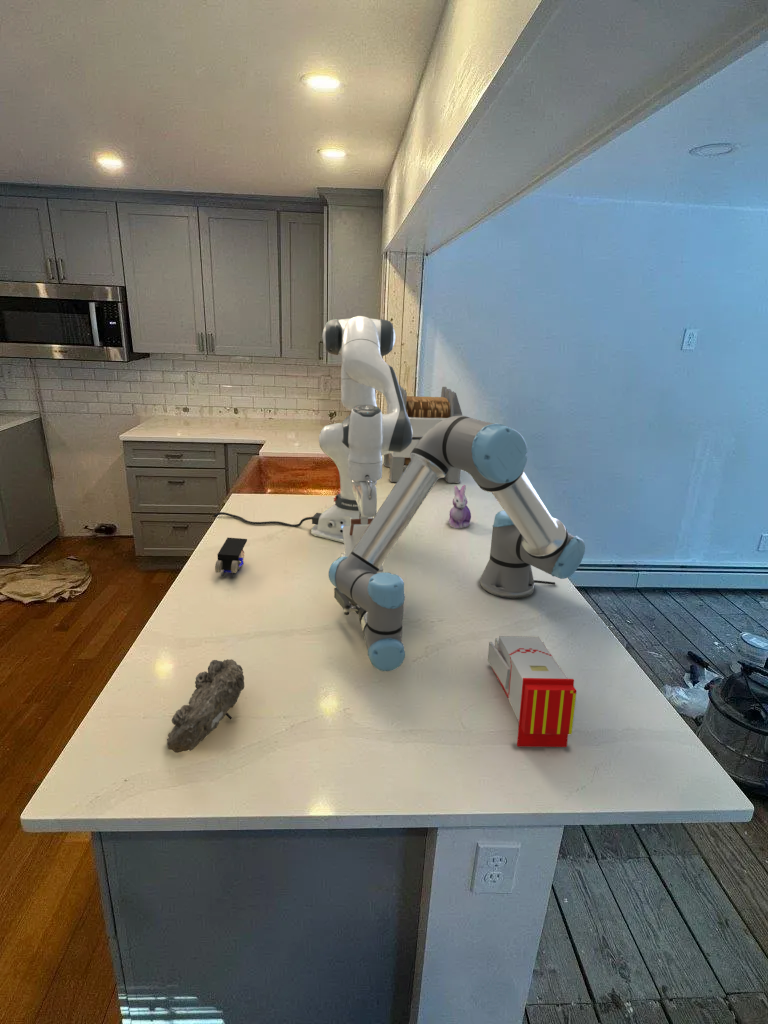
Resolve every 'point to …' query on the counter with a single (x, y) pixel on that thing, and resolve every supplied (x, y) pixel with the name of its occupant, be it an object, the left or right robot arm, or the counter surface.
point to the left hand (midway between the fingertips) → (363, 521)
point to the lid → (354, 536)
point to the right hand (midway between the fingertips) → (363, 577)
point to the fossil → (206, 705)
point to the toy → (534, 690)
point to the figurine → (459, 509)
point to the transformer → (423, 428)
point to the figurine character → (230, 556)
